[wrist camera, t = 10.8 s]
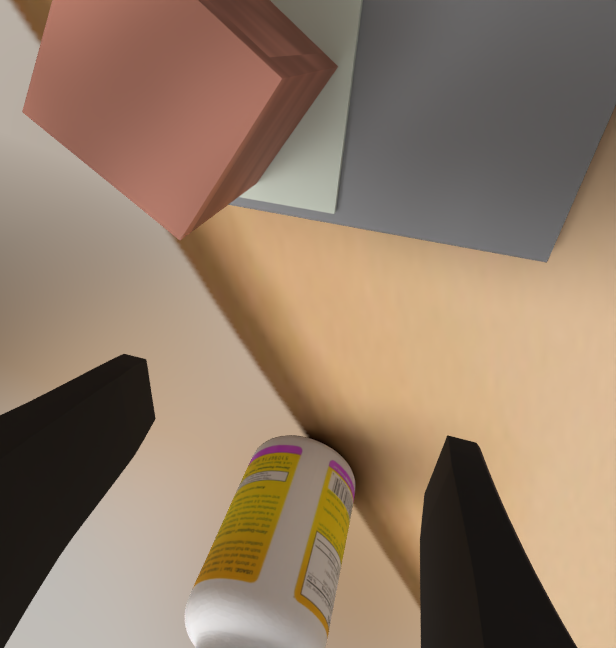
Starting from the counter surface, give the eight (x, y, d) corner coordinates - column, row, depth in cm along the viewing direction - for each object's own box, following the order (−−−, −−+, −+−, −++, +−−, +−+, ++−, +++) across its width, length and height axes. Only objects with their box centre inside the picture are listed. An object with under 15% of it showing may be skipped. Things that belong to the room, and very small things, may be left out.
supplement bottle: (243, 473, 29) (130, 712, 19) (274, 413, 25) (155, 672, 15) (332, 517, 29) (269, 780, 19) (377, 464, 25) (330, 757, 15)
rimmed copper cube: (338, 66, 14) (282, 78, 9) (256, 183, 17) (179, 240, 12) (215, -53, 13) (82, -109, 8) (150, 91, 16) (22, 111, 11)
